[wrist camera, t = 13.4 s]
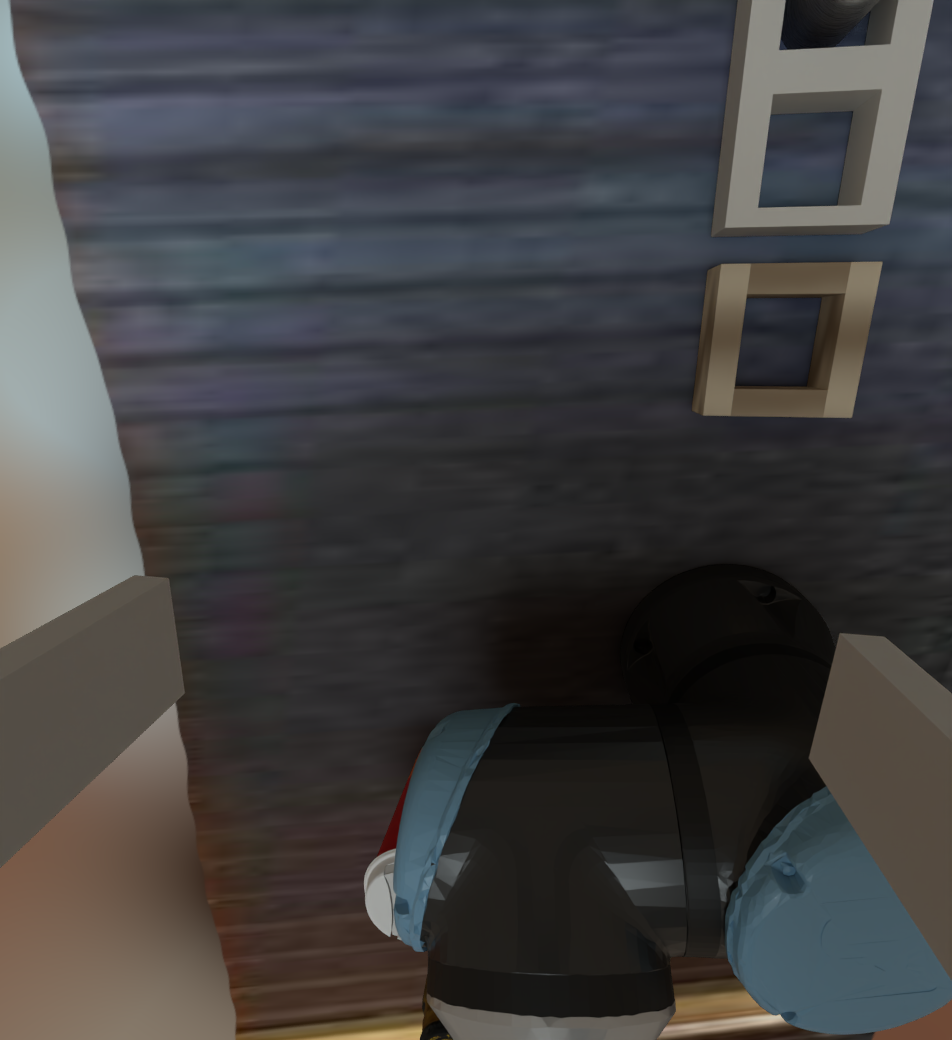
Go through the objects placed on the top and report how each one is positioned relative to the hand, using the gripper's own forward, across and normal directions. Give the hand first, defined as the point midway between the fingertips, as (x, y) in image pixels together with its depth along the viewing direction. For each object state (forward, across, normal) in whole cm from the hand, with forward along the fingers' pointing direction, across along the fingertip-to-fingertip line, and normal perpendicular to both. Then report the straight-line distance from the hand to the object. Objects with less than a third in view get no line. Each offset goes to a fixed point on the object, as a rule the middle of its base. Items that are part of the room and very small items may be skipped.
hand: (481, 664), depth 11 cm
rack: (+31, -15, -21) cm, 41 cm away
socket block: (+31, -16, -7) cm, 36 cm away
